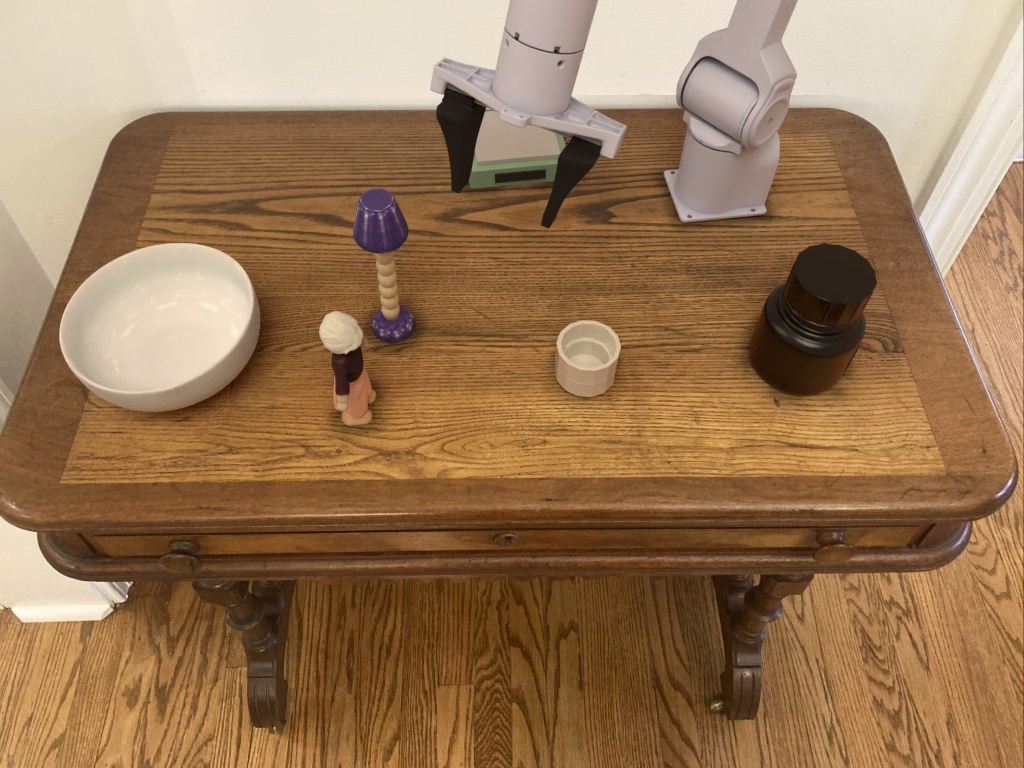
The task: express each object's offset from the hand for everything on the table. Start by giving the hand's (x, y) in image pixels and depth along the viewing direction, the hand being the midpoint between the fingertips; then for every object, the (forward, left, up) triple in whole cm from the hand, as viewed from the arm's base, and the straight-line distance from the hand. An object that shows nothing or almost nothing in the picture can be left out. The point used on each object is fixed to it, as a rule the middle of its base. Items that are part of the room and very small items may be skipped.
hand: (503, 203), depth 68 cm
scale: (-5, -26, -17) cm, 32 cm away
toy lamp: (+10, -3, -17) cm, 20 cm away
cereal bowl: (+30, -2, -17) cm, 35 cm away
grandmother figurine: (+14, +6, -17) cm, 23 cm away
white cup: (-7, +5, -17) cm, 19 cm away
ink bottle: (-27, +6, -17) cm, 33 cm away
